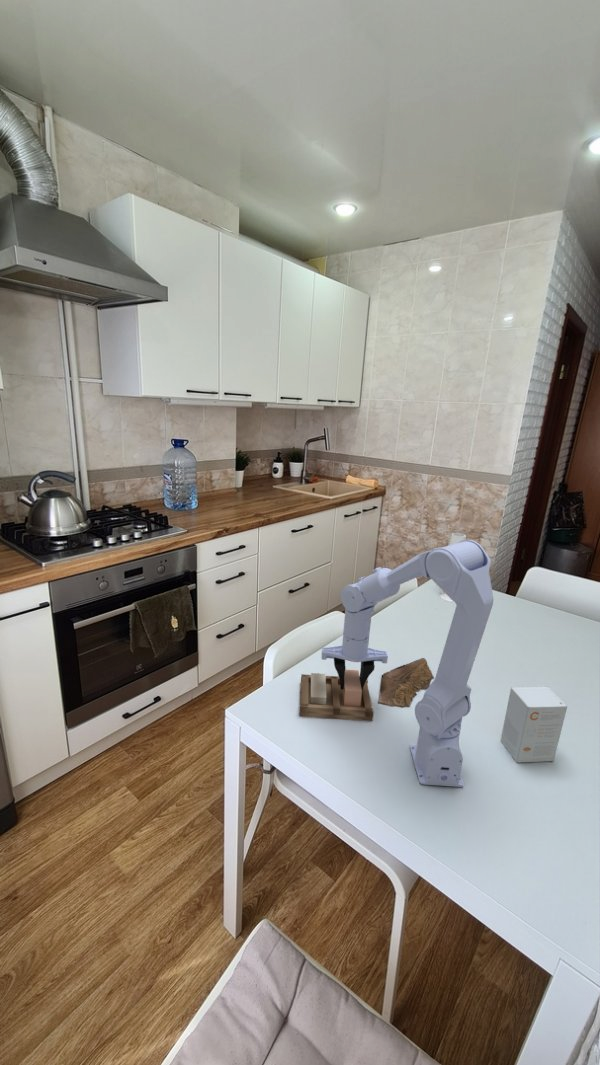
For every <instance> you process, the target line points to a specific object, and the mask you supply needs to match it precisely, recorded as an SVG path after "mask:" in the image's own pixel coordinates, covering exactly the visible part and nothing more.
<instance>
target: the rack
mask: <svg viewBox="0 0 600 1065" xmlns="http://www.w3.org/2000/svg"><path fill="white" fill-rule="evenodd" d="M368 680H369V679H368V678H367V680H366V682H365V684H364V687H363V690H362V695H361V705H360V707H345V706H343V699H342V689H341V688H340V679H339V676H338V675H337V676H336V675H334V676H333V675H326V673H313V672H311V673H310V674H301V676H300V692H299V693H300V695H299V697H300V698H299V717H304V718H306V717H307V718H318V719H319V718H320V719H336V720H348V721H349V720H352V721H353V720H354V721H364V722H365V721H367V722H368V721H369V722H373V721H374V713H375V712H374V711H375V710H374V708H373V706H372V702H371V695H370V691H369V685H368V682H369V681H368Z"/></svg>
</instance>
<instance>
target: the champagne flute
mask: <svg viewBox="0 0 600 1065" xmlns="http://www.w3.org/2000/svg"><path fill="white" fill-rule="evenodd" d="M463 540H467V535H466V534H464V533H462V532H461V533H460V532H452V533H451V535H450V539H449V543H448V546H449V545H452V544H456V543H459V542H461V541H463ZM439 598H440V599H442V600H443V601H445V602H451V603H452V602H454V601H452V599H451V598H450V597H449V596H448V595H447V594H446V593H445V592H444V593H441V594H440V595H439ZM454 603H455V602H454Z"/></svg>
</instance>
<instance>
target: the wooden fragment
mask: <svg viewBox="0 0 600 1065" xmlns="http://www.w3.org/2000/svg"><path fill="white" fill-rule="evenodd" d="M380 678H381V679H380V686H379V687H380V688H379V694H378V701H377V704H378V705H383V706H388V707H392V708H395V707H396V708H397V707H398V708H411V704H412V702H413V698H415V697H416V696H417V695H418V693H417V692H419V691H420V690H422V691H423V690H425V689H426V690H427V689H428V687H429V686H430V685H431V681H432V679H433V680H434V679H435V676H434V675H433V673H432V670H431V669H430V667H429V665H428V661H427V660H426V658H424V657H422V658H419V659H416V660H414V661H411V662H409V663H406V664H402V665H400V666H397V667H395V668H393V669H391V670H389V671H386V672H384V673H383V674H381V677H380Z"/></svg>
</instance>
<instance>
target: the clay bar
mask: <svg viewBox="0 0 600 1065" xmlns="http://www.w3.org/2000/svg"><path fill="white" fill-rule="evenodd" d="M361 695H362V689H361V683H360V671H359V670H358V669H345V675H344V689H342V699H343V706H345V707H360V705H361Z"/></svg>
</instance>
